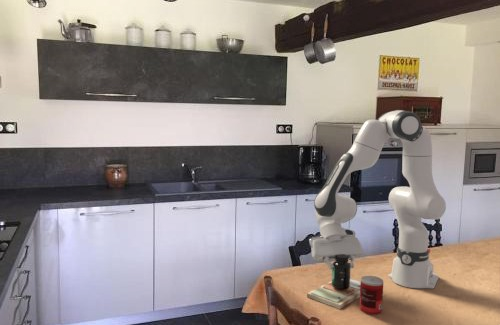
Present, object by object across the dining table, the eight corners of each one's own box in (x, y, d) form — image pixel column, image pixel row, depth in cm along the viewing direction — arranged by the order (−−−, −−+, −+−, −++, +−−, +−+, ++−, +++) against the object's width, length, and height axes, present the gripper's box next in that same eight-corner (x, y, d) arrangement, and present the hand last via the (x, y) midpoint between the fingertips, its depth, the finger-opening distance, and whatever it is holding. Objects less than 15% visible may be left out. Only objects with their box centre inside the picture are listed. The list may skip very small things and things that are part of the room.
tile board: (340, 279, 179) (340, 275, 179) (371, 289, 170) (371, 284, 170) (306, 297, 161) (307, 291, 161) (339, 309, 152) (340, 303, 152)
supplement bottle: (330, 288, 163) (331, 257, 162) (332, 281, 169) (333, 252, 168) (349, 290, 161) (350, 259, 160) (350, 283, 168) (351, 253, 166)
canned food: (377, 304, 156) (379, 275, 155) (385, 315, 148) (386, 284, 147) (356, 304, 156) (358, 275, 155) (363, 314, 148) (364, 284, 147)
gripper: (310, 233, 167) (318, 266, 159) (358, 231, 172) (369, 263, 164) (305, 241, 172) (313, 273, 164) (352, 238, 177) (363, 270, 168)
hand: (342, 268), depth 164 cm, fingers closed on supplement bottle, 7 cm apart
